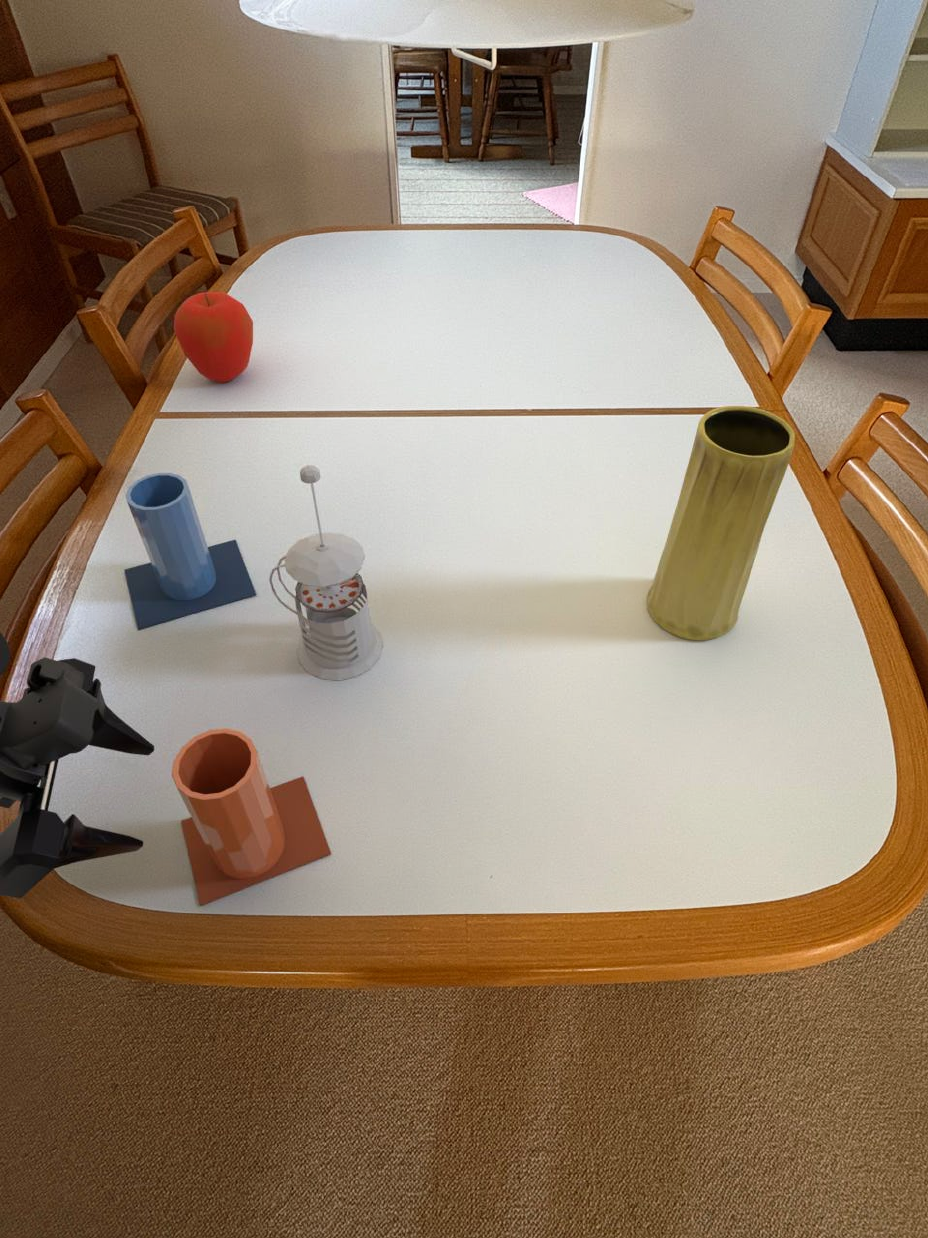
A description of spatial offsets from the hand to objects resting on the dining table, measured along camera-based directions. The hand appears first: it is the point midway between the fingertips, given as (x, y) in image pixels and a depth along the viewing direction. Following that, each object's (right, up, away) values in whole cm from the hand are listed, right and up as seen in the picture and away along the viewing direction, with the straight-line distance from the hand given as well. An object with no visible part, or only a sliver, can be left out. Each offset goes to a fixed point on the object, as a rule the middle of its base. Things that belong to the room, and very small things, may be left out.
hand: (146, 796), depth 66 cm
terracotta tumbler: (+7, -6, +6) cm, 11 cm away
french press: (+12, +12, +24) cm, 29 cm away
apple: (-13, +55, +64) cm, 86 cm away
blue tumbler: (-7, +20, +30) cm, 37 cm away
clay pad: (+7, -6, +7) cm, 12 cm away
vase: (+54, +16, +28) cm, 63 cm away
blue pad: (-7, +19, +30) cm, 37 cm away
